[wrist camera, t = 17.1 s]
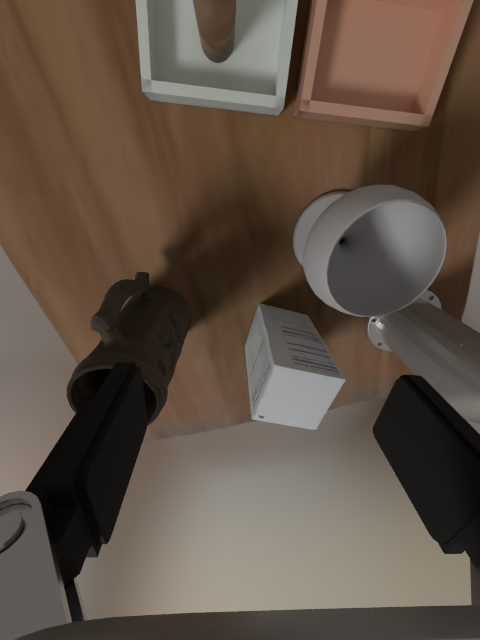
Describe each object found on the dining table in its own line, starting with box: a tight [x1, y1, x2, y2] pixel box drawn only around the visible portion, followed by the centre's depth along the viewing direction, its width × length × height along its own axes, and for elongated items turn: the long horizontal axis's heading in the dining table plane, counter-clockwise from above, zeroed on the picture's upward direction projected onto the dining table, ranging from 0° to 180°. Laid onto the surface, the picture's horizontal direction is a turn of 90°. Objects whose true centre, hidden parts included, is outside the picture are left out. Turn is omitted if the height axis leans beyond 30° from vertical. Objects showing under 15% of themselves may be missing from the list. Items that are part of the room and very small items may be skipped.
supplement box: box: [245, 304, 346, 430], centre depth 39 cm, size 10×9×17 cm
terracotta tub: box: [293, 0, 473, 132], centre depth 28 cm, size 15×11×4 cm
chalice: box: [293, 185, 447, 317], centre depth 32 cm, size 14×14×15 cm
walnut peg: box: [193, 0, 236, 63], centre depth 24 cm, size 4×4×8 cm
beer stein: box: [67, 272, 191, 426], centre depth 34 cm, size 15×11×20 cm
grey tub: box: [136, 0, 298, 116], centre depth 27 cm, size 15×11×4 cm
